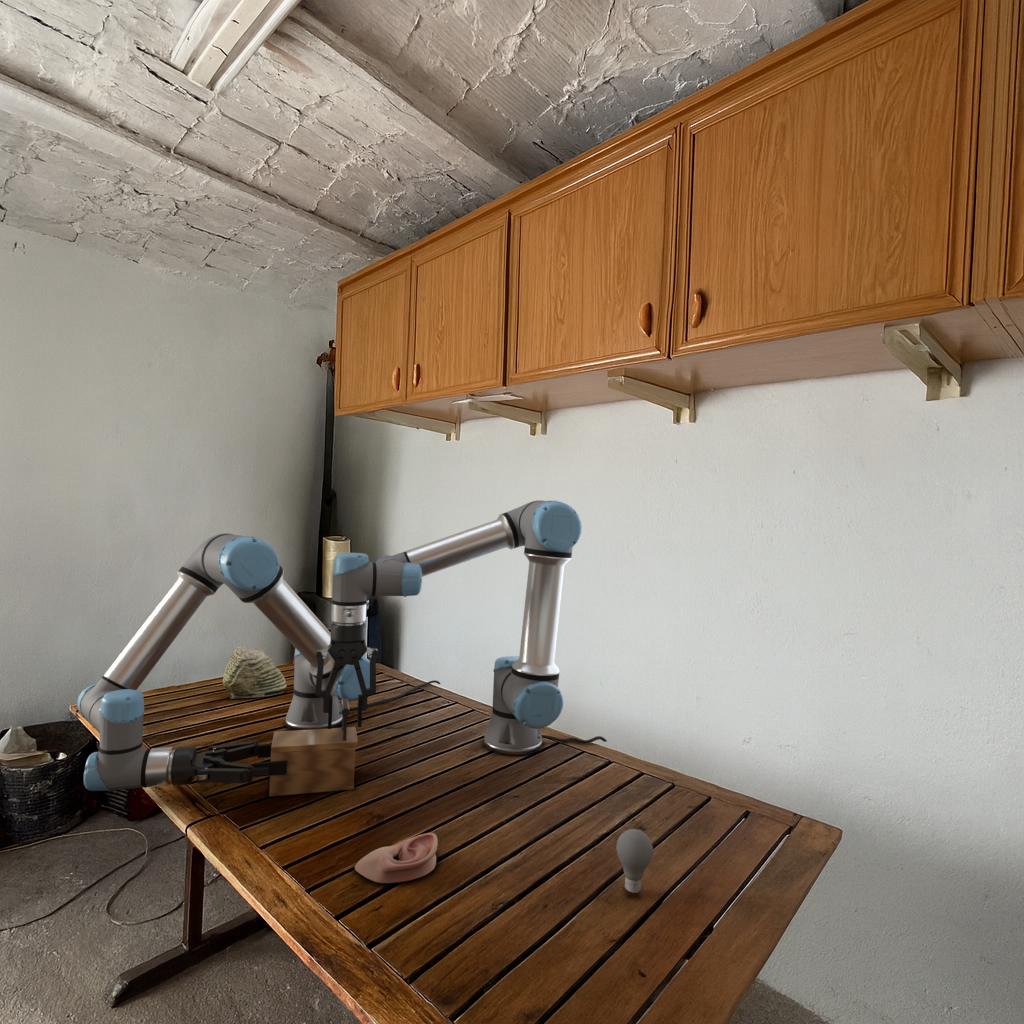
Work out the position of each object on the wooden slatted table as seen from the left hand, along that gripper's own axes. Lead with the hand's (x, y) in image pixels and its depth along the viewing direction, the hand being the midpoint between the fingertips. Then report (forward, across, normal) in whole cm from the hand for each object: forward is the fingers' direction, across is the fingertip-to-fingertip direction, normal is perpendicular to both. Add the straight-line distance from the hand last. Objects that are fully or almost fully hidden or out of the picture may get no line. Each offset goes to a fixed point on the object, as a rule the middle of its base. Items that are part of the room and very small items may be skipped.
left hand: (287, 757), depth 138 cm
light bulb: (+57, +51, -6) cm, 77 cm away
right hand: (+12, 0, +6) cm, 13 cm away
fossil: (-13, -66, -6) cm, 68 cm away
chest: (+5, 0, -6) cm, 8 cm away
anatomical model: (+20, +35, -6) cm, 41 cm away
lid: (+6, 0, +3) cm, 6 cm away
